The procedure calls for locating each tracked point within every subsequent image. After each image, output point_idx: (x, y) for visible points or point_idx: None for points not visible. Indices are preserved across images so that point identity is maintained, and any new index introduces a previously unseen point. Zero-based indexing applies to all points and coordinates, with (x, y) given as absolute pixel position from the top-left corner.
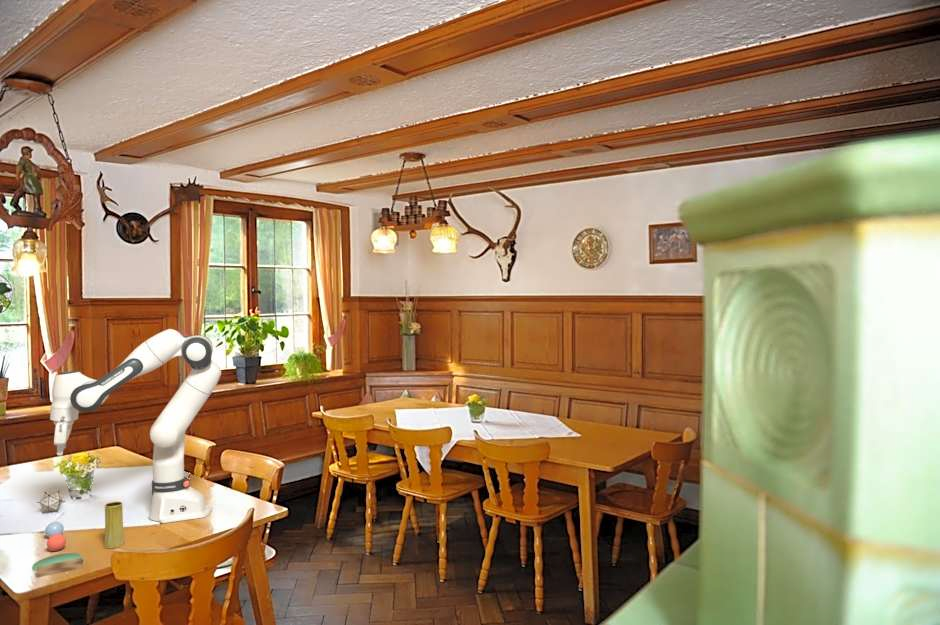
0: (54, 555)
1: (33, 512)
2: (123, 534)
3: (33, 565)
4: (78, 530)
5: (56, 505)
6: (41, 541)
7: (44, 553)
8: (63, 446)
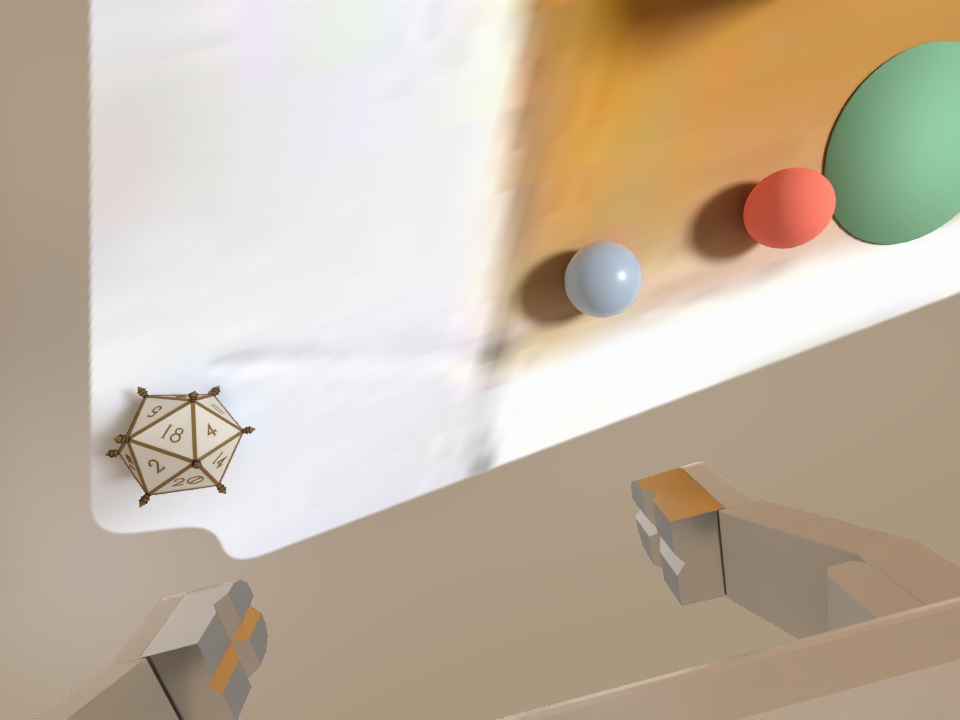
0: None
1: None
2: None
3: (900, 240)
4: (521, 195)
5: (210, 404)
6: None
7: None
8: (913, 542)
